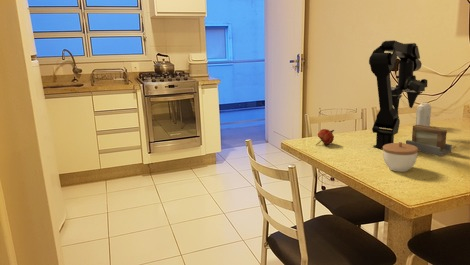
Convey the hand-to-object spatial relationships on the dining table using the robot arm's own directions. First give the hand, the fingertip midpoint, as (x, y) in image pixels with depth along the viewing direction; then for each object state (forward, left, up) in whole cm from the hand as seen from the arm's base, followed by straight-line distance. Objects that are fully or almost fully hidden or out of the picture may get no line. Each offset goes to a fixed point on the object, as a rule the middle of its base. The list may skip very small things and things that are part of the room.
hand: (403, 109), depth 152 cm
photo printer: (+22, +6, -13) cm, 26 cm away
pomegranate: (-34, +12, -13) cm, 38 cm away
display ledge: (-8, -18, -13) cm, 24 cm away
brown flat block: (-8, -18, -12) cm, 23 cm away
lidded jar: (-34, -26, -13) cm, 45 cm away
